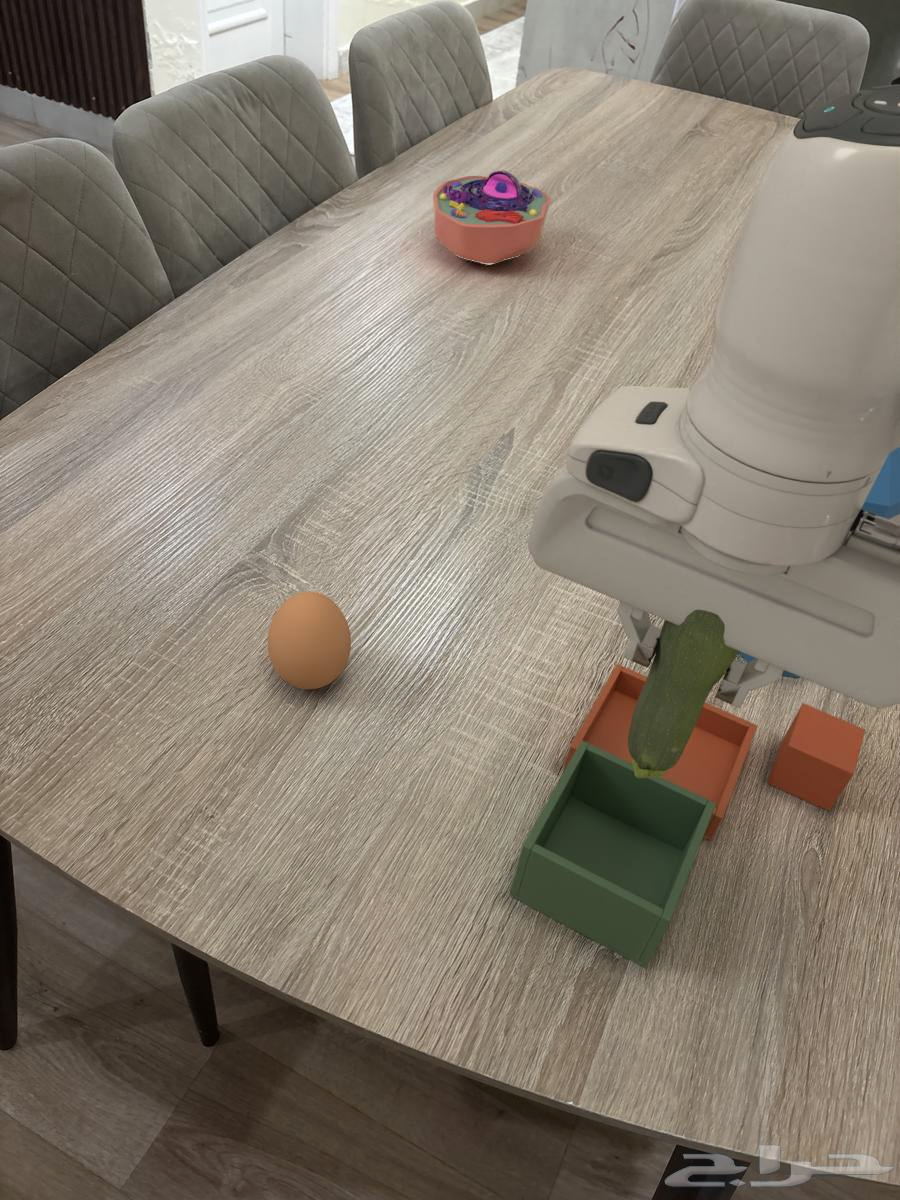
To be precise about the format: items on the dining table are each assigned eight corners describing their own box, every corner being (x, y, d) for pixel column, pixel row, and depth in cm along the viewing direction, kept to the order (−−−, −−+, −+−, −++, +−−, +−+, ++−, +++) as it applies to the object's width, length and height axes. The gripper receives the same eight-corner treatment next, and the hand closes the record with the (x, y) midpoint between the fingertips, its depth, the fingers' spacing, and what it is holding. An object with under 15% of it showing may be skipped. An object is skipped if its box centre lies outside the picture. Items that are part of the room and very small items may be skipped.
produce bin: (691, 852, 70) (716, 803, 65) (645, 968, 63) (670, 921, 58) (565, 791, 72) (581, 739, 68) (508, 895, 66) (522, 845, 61)
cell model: (399, 257, 138) (404, 178, 130) (474, 219, 150) (483, 145, 143) (496, 296, 132) (507, 215, 124) (565, 253, 144) (579, 177, 137)
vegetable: (614, 734, 60) (696, 484, 46) (681, 739, 60) (783, 491, 46) (622, 792, 57) (712, 542, 43) (692, 797, 57) (805, 550, 43)
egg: (338, 715, 76) (339, 637, 69) (258, 700, 76) (252, 620, 70) (358, 656, 80) (361, 578, 74) (283, 642, 81) (279, 563, 74)
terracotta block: (841, 767, 77) (866, 729, 73) (829, 811, 73) (854, 774, 70) (781, 740, 78) (803, 702, 75) (766, 783, 75) (788, 745, 71)
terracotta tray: (746, 748, 77) (758, 725, 75) (710, 840, 70) (722, 818, 68) (609, 686, 81) (617, 663, 79) (563, 769, 74) (570, 746, 72)
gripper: (1005, 523, 42) (879, 716, 52) (588, 377, 48) (544, 575, 58) (993, 604, 38) (858, 799, 48) (538, 433, 44) (499, 637, 53)
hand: (683, 675), depth 53 cm, fingers closed on vegetable, 4 cm apart
